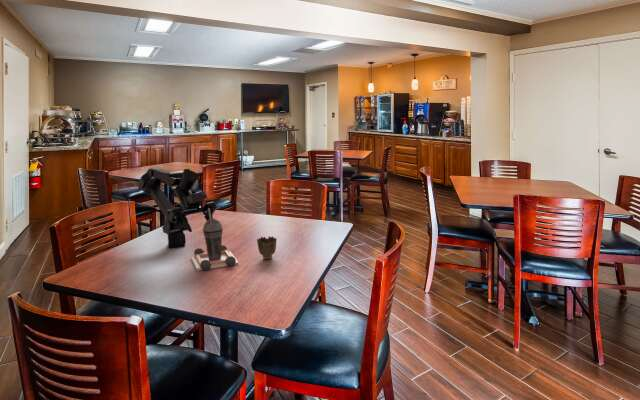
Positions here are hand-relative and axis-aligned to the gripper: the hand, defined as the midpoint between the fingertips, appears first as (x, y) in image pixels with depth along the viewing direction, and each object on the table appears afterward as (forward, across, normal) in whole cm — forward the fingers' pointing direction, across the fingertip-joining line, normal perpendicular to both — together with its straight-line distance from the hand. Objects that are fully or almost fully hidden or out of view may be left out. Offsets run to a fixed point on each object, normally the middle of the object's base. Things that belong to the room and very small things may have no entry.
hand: (202, 229), depth 161 cm
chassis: (+13, 0, +2) cm, 14 cm away
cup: (+22, +16, -6) cm, 28 cm away
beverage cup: (+13, 0, +2) cm, 13 cm away
